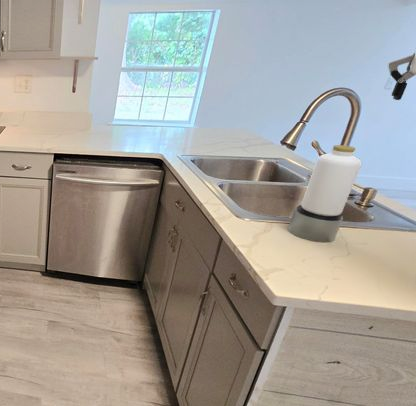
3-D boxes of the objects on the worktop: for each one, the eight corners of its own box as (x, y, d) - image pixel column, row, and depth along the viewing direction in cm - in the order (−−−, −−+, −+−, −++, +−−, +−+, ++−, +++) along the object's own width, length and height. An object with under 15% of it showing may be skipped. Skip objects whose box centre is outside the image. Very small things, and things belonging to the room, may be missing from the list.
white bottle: (341, 210, 99) (368, 146, 92) (339, 220, 94) (367, 153, 87) (302, 202, 105) (324, 141, 98) (297, 211, 100) (320, 147, 93)
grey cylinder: (339, 235, 101) (349, 212, 98) (327, 246, 96) (337, 222, 93) (295, 222, 109) (302, 201, 106) (282, 232, 104) (289, 209, 101)
